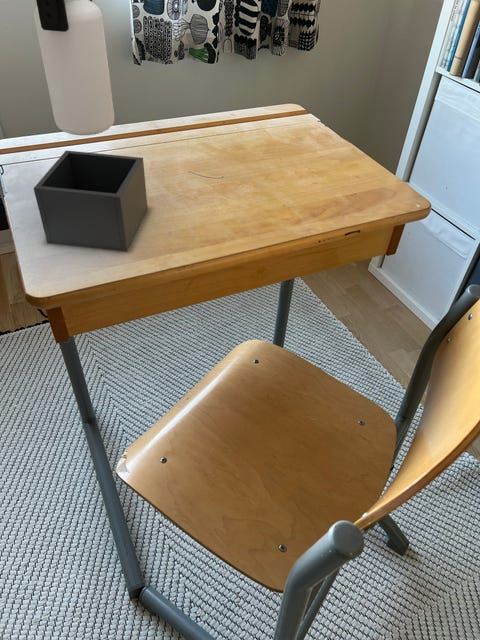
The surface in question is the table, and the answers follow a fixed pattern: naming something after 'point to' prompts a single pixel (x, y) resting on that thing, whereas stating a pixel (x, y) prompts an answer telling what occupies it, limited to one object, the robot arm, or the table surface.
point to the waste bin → (93, 200)
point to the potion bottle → (78, 70)
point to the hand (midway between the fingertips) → (69, 20)
